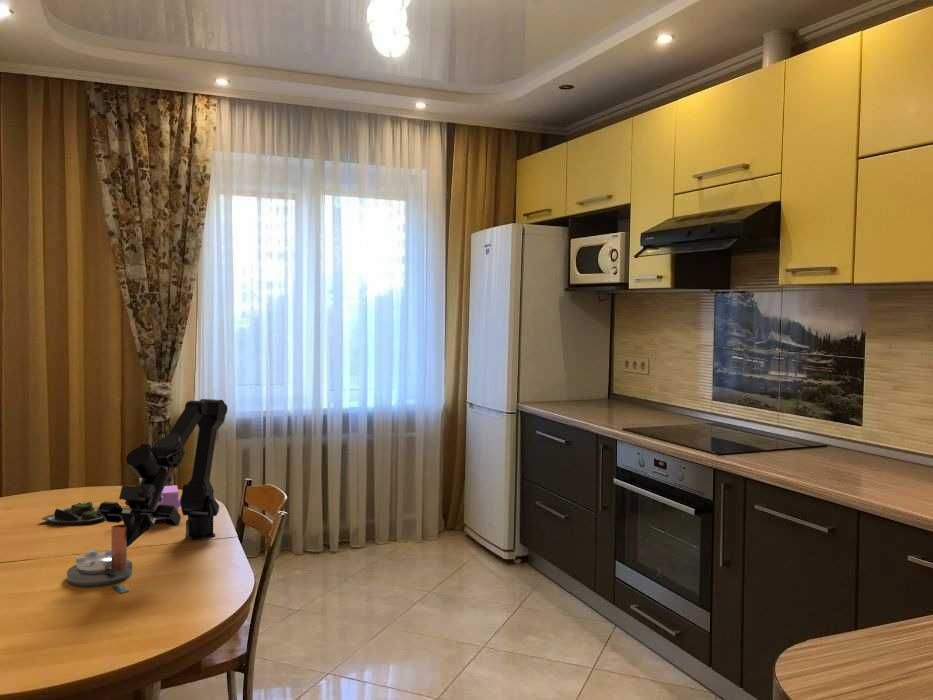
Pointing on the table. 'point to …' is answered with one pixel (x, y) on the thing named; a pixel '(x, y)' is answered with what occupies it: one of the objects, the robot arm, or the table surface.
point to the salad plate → (75, 515)
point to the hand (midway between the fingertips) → (125, 546)
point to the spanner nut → (107, 556)
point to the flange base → (97, 578)
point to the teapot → (170, 497)
